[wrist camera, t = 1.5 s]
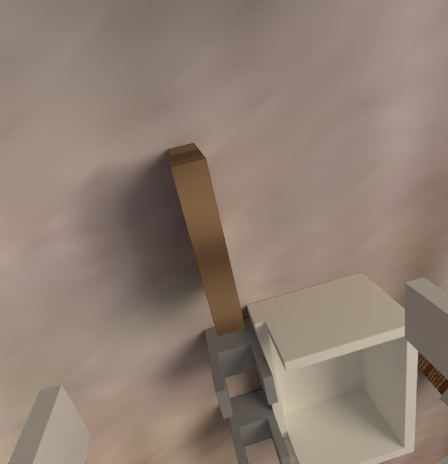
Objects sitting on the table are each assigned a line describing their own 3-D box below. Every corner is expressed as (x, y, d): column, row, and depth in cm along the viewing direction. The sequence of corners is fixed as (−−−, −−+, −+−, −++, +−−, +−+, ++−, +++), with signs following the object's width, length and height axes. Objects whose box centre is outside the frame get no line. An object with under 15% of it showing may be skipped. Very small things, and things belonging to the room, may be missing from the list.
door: (168, 148, 25) (170, 167, 17) (193, 142, 25) (206, 158, 18) (204, 278, 30) (217, 336, 22) (225, 273, 30) (245, 328, 22)
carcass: (200, 318, 31) (212, 384, 24) (361, 272, 32) (419, 321, 25) (233, 427, 37) (250, 506, 30) (366, 385, 38) (413, 451, 31)
